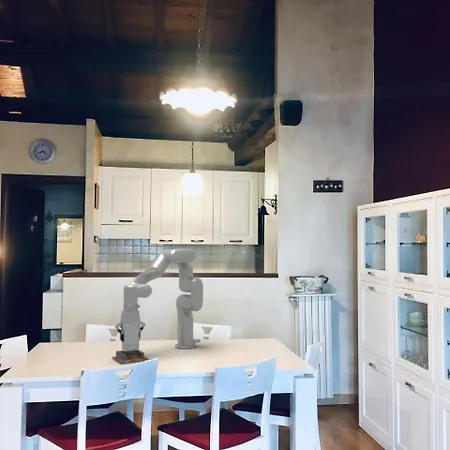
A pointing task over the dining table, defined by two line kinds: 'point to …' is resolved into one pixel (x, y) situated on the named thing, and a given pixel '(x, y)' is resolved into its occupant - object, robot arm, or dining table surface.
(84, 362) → the dining table surface
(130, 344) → the skincare box
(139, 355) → the u rest
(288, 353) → the dining table surface
